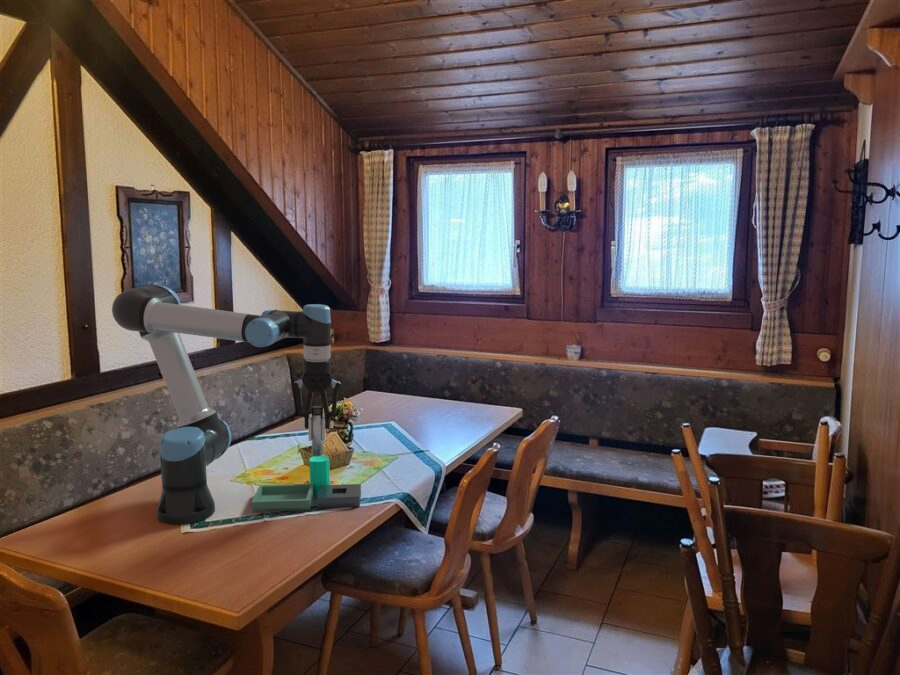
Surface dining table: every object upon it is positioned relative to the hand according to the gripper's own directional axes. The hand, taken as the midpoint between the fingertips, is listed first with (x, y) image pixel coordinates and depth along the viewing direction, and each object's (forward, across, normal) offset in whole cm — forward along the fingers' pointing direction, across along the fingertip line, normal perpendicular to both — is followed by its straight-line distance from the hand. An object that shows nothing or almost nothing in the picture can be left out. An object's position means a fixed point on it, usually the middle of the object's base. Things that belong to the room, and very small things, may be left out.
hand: (317, 439), depth 207 cm
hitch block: (+19, +6, 0) cm, 20 cm away
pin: (+5, 0, 0) cm, 5 cm away
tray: (+19, -10, 0) cm, 21 cm away
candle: (+19, 0, +8) cm, 21 cm away
